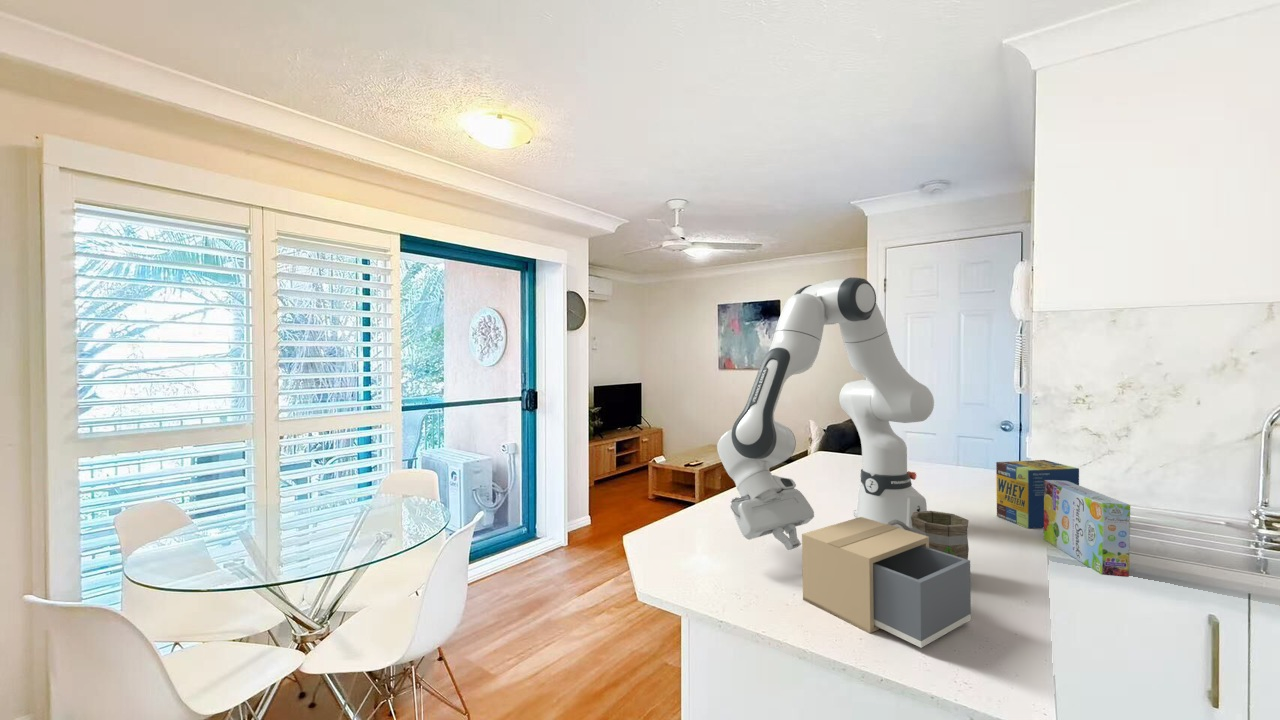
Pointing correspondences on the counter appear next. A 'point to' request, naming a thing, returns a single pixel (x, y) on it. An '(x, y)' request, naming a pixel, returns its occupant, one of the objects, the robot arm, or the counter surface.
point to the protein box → (1027, 489)
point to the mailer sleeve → (850, 566)
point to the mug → (941, 531)
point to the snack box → (1088, 526)
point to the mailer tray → (921, 594)
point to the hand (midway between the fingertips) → (794, 547)
